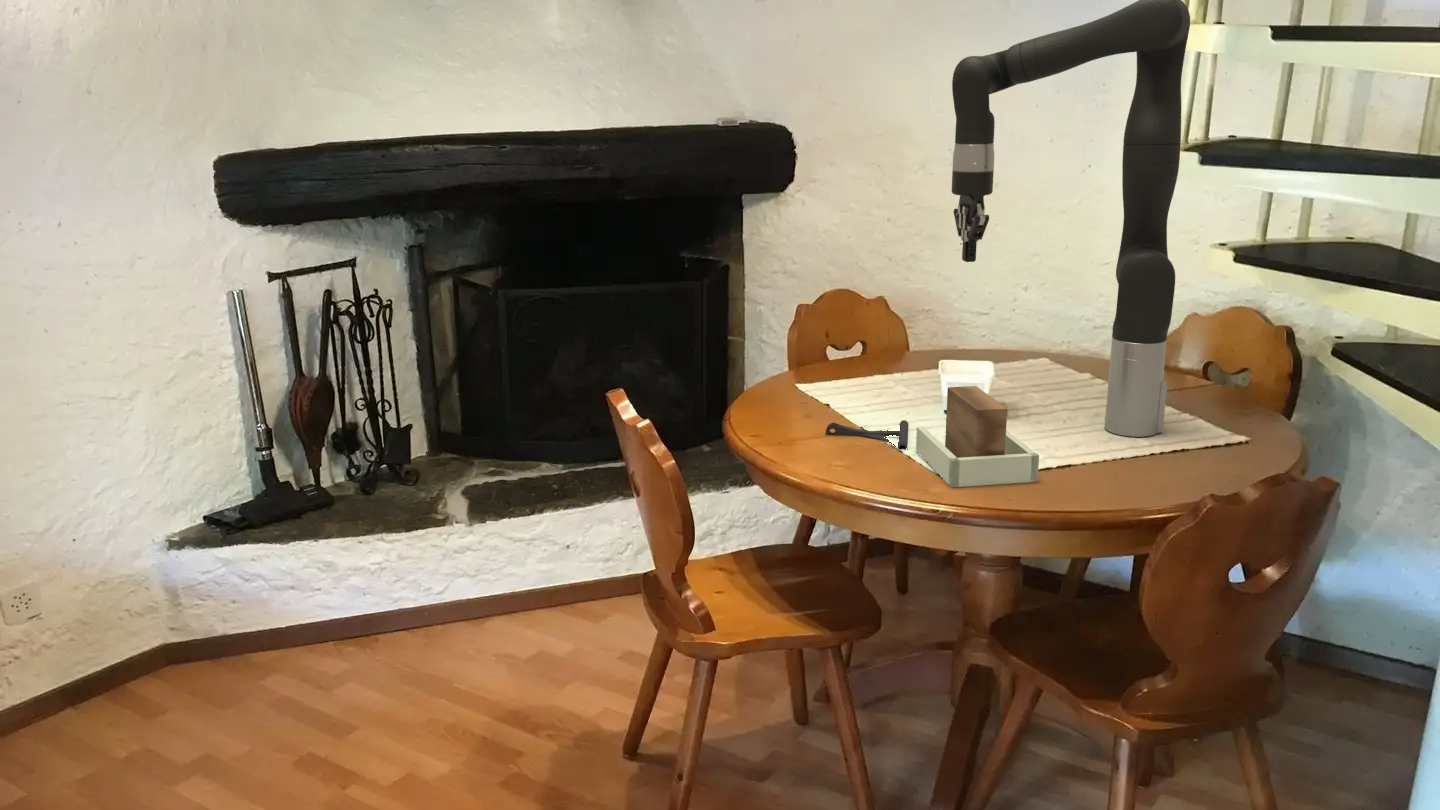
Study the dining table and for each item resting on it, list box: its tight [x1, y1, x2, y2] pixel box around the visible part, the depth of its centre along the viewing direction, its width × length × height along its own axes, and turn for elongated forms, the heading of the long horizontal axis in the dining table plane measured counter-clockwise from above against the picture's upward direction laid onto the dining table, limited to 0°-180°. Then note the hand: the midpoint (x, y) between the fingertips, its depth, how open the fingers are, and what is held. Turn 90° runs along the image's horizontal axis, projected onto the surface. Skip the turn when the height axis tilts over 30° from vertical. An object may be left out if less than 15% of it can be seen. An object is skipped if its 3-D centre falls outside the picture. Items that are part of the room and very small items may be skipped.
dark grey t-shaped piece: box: [825, 419, 909, 449], centre depth 203 cm, size 14×15×3 cm
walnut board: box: [944, 385, 1008, 458], centre depth 185 cm, size 5×14×12 cm, turn 8°
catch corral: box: [915, 426, 1040, 488], centre depth 186 cm, size 14×18×4 cm
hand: (968, 261), depth 212 cm, fingers closed
